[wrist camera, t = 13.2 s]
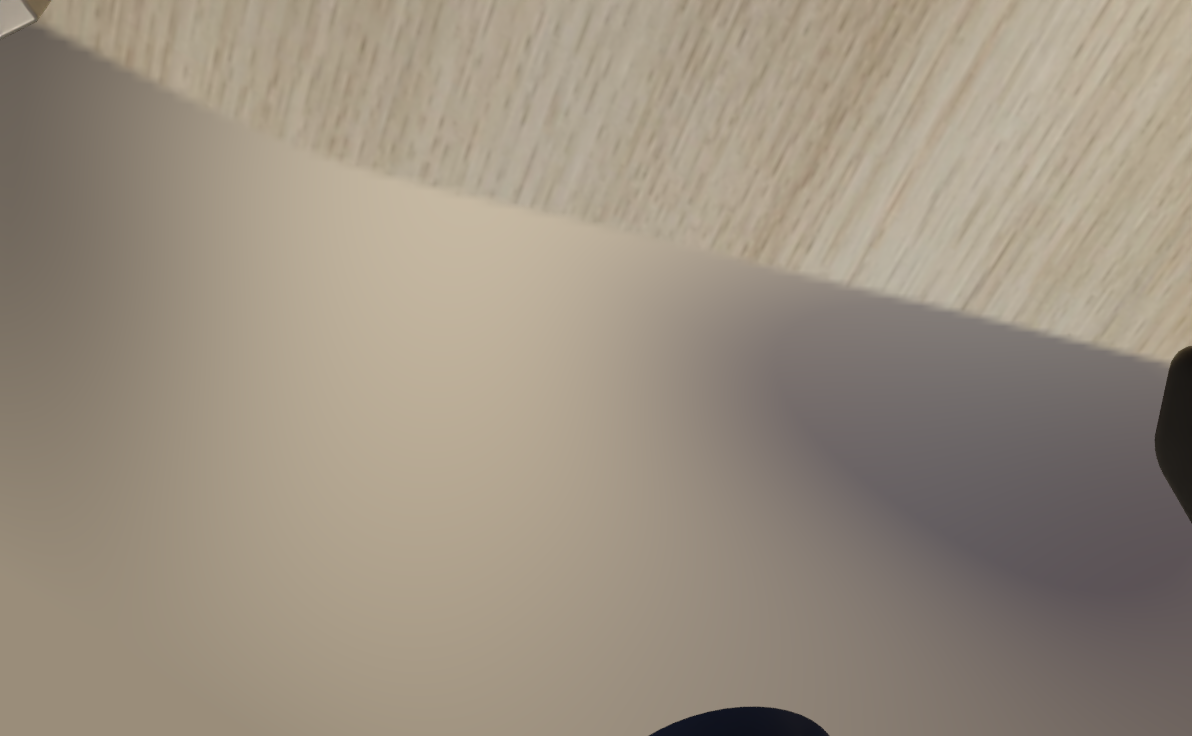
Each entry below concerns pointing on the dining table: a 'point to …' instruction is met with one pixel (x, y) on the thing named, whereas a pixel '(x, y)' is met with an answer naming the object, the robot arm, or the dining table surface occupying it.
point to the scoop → (19, 14)
